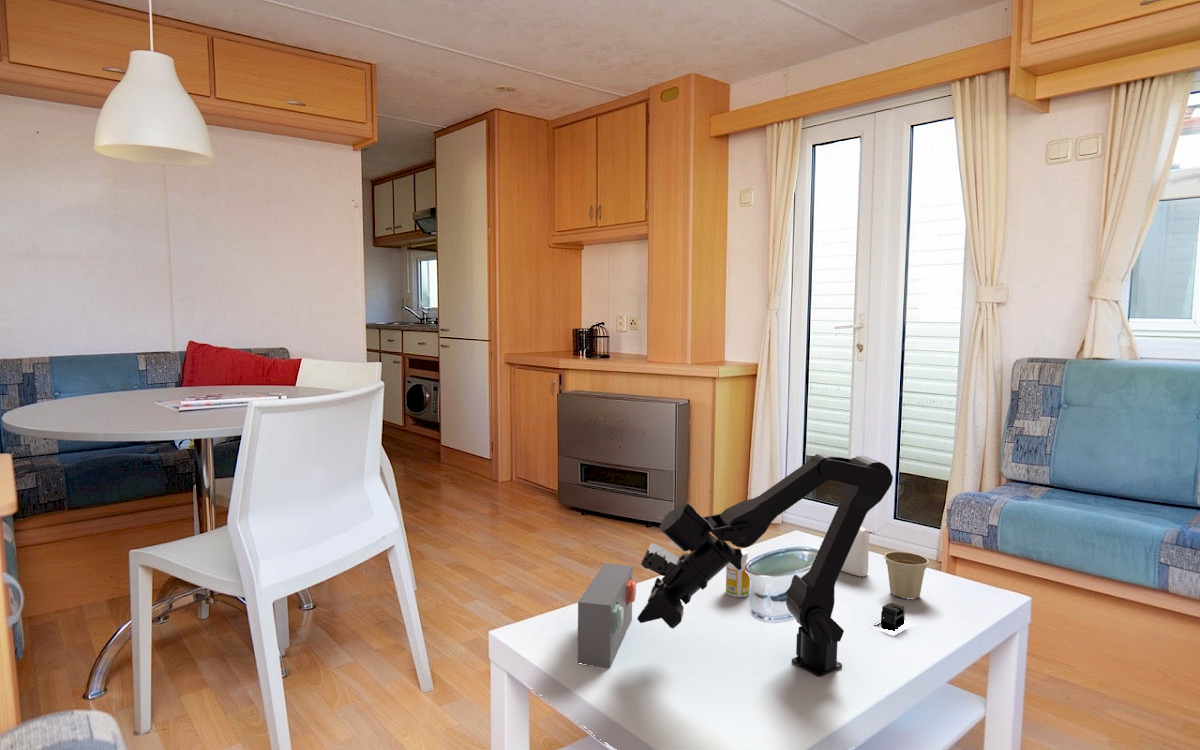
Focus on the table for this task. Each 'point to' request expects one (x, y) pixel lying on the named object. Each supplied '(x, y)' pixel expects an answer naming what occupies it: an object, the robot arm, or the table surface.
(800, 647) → the robot arm
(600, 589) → the control box
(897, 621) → the black grooved cube
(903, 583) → the flower pot
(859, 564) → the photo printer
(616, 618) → the button green
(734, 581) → the supplement bottle
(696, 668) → the table surface
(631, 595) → the button red
